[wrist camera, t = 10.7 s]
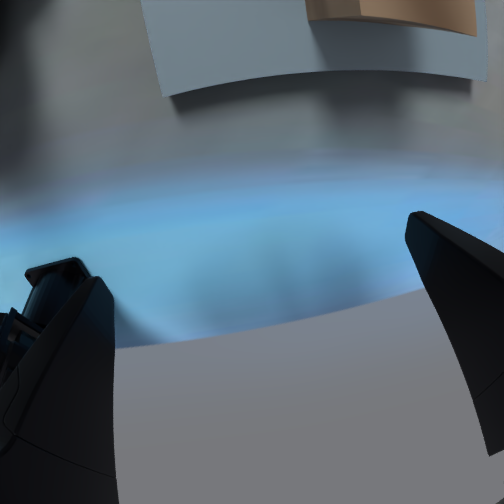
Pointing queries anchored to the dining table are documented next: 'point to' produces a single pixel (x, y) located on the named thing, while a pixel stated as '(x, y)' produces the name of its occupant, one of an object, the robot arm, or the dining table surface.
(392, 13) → the walnut cube
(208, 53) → the slate board
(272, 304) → the dining table surface
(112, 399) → the robot arm
